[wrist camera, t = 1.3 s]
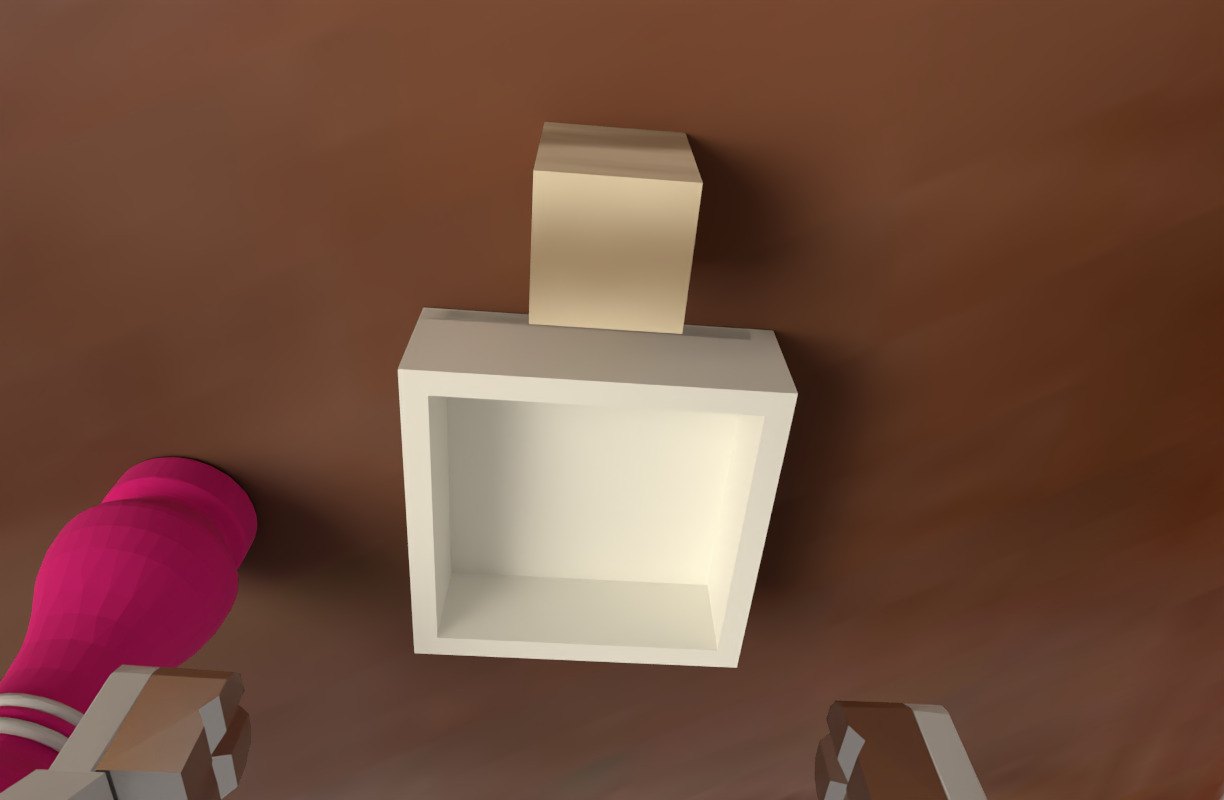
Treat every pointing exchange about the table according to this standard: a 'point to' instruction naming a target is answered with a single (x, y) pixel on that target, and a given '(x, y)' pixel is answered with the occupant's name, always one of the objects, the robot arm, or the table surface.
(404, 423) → the serving bin
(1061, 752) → the table surface
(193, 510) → the pepper mill
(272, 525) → the table surface
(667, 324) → the birch block
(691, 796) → the table surface
